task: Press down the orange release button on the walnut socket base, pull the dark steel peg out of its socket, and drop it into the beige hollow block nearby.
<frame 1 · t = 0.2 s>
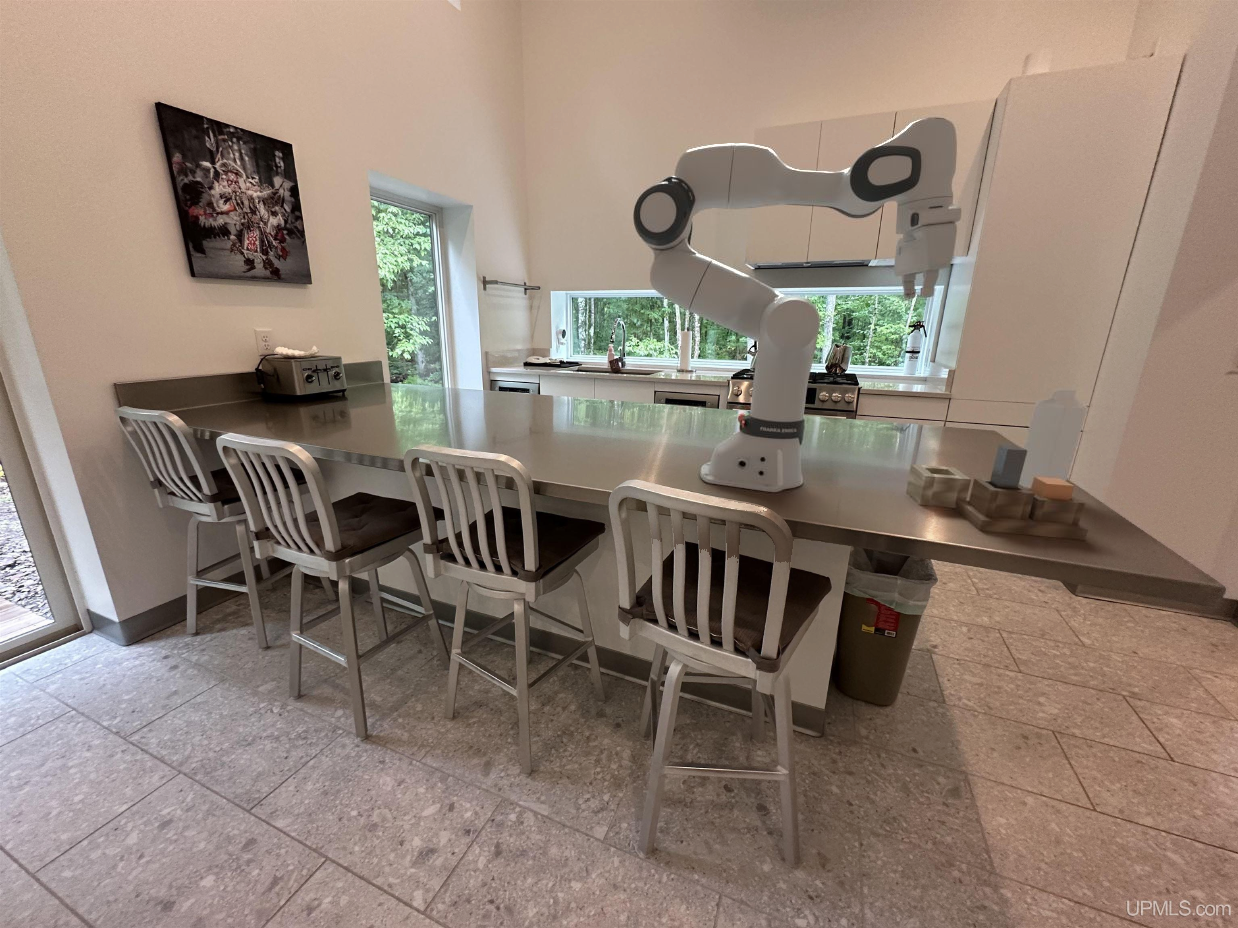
hand: (917, 298, 97), 39 cm above the counter, tool pointing down, fingers open, 8 cm apart
steel peg: (996, 511, 91), point 2 cm above the counter, touching socket base
milk: (1036, 492, 108), on the counter
beige hollow block: (933, 499, 102), on the counter
socket base: (1015, 523, 91), on the counter
release button: (1050, 491, 88), point 7 cm above the counter, slide at 0.0 cm
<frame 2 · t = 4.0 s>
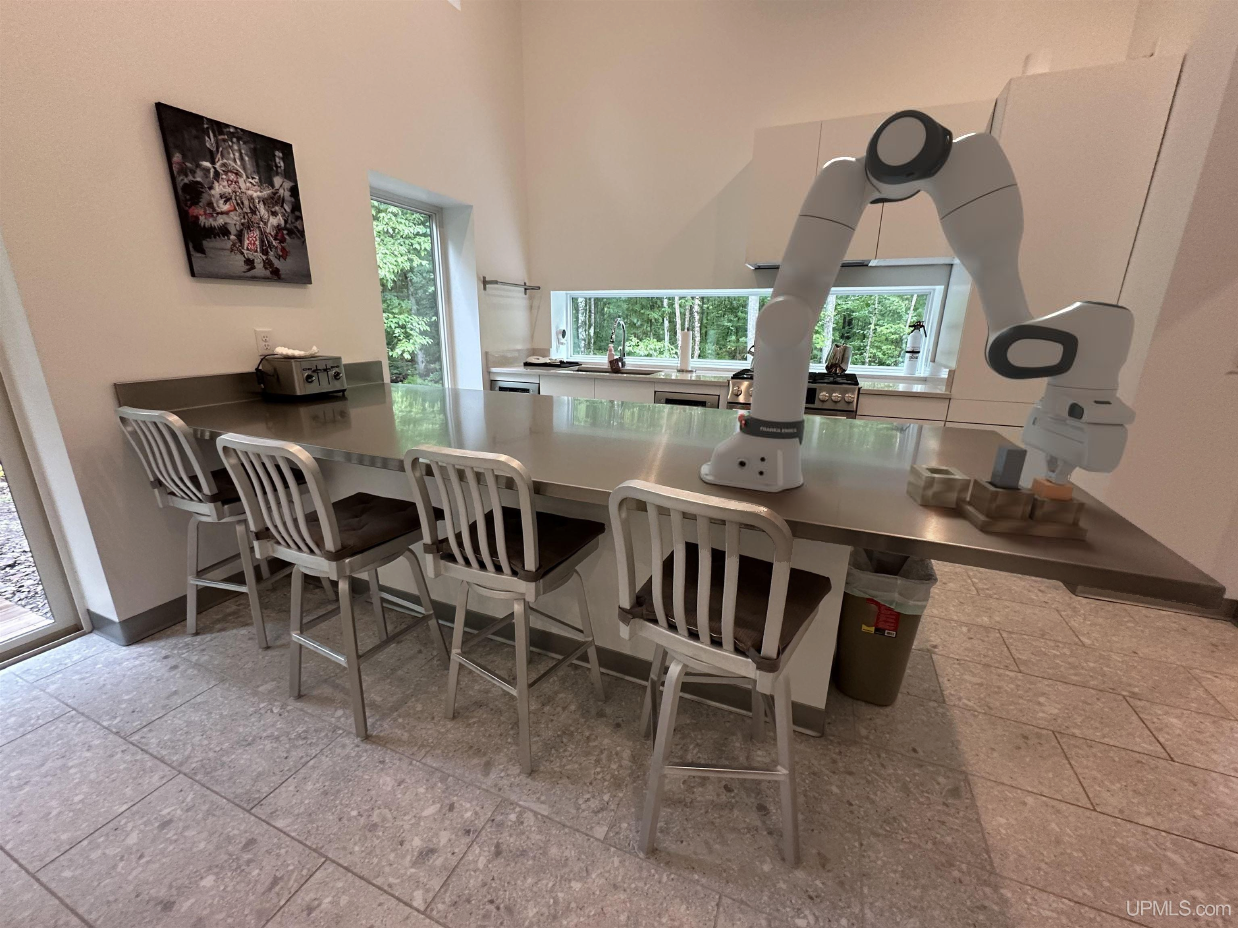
hand: (1054, 482, 88), 8 cm above the counter, tool pointing down, fingers closed, pressing on release button
release button: (1050, 493, 88), point 6 cm above the counter, slide at 0.2 cm, touching gripper
everything else where it was.
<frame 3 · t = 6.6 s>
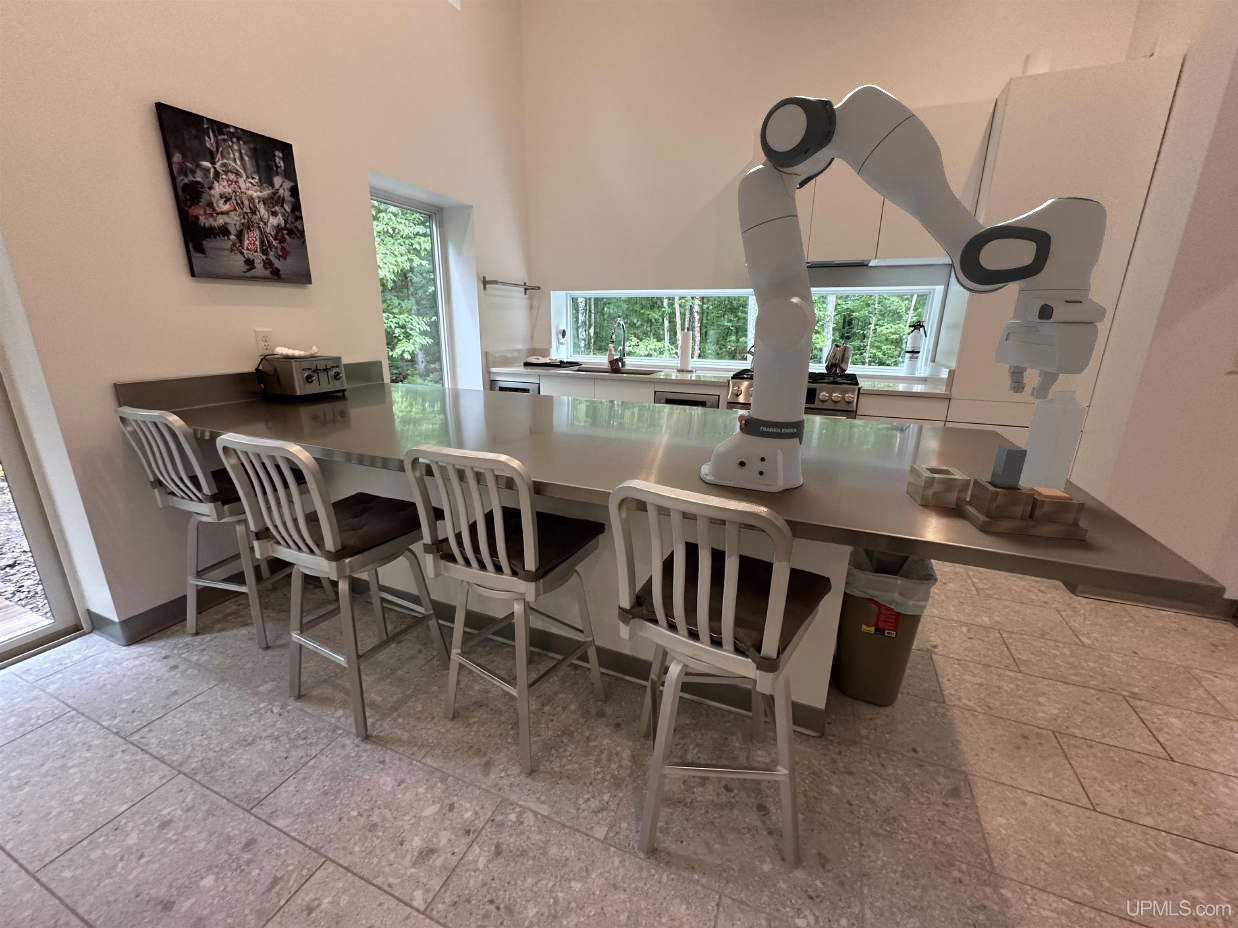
hand: (1026, 395, 85), 23 cm above the counter, tool pointing down, fingers open, 5 cm apart
release button: (1047, 502, 89), point 5 cm above the counter, slide at 2.0 cm
everything else where it was.
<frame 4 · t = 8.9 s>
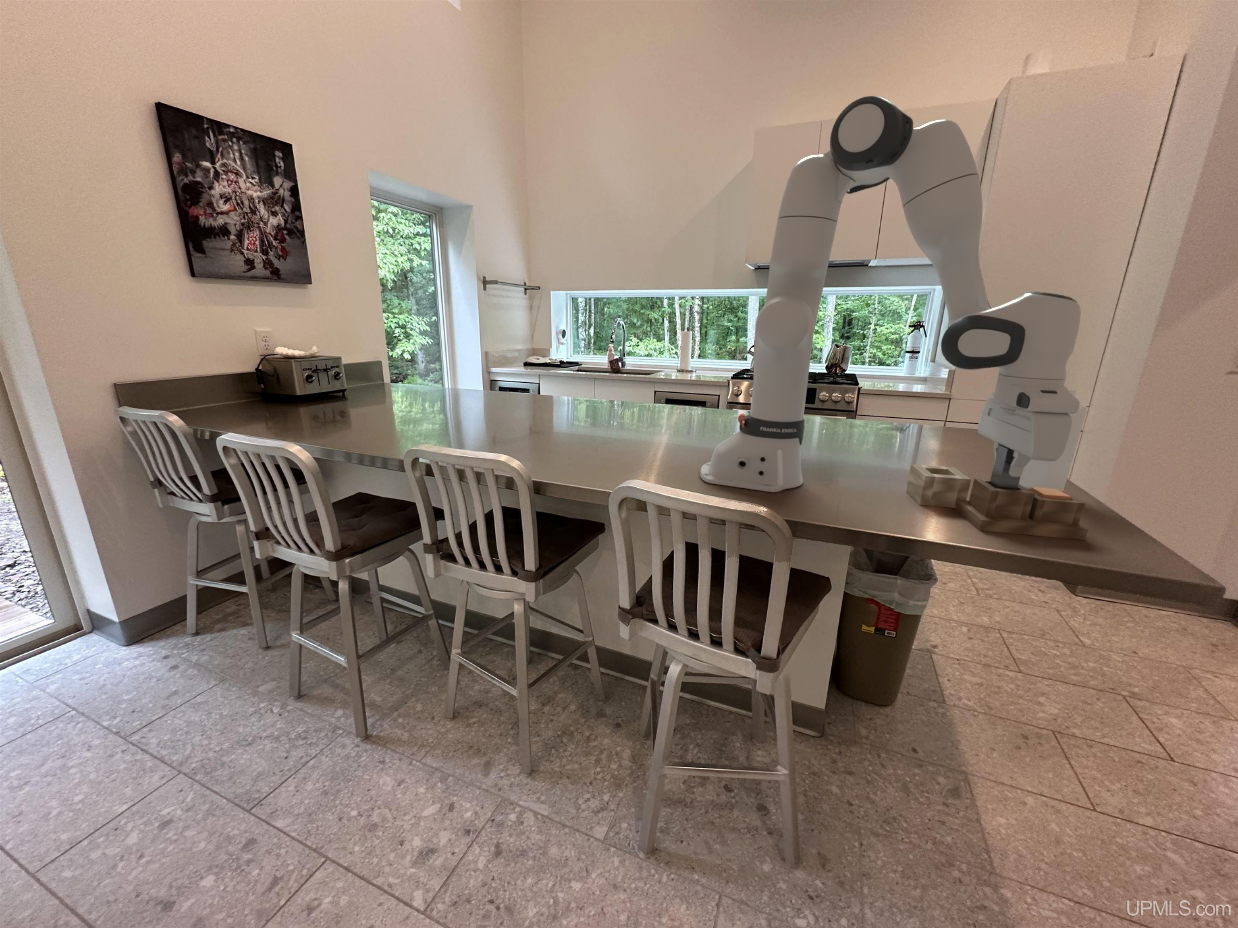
hand: (1006, 471, 89), 10 cm above the counter, tool pointing down, fingers closed on steel peg, 3 cm apart
steel peg: (996, 511, 91), point 2 cm above the counter, touching gripper, socket base
everything else where it was.
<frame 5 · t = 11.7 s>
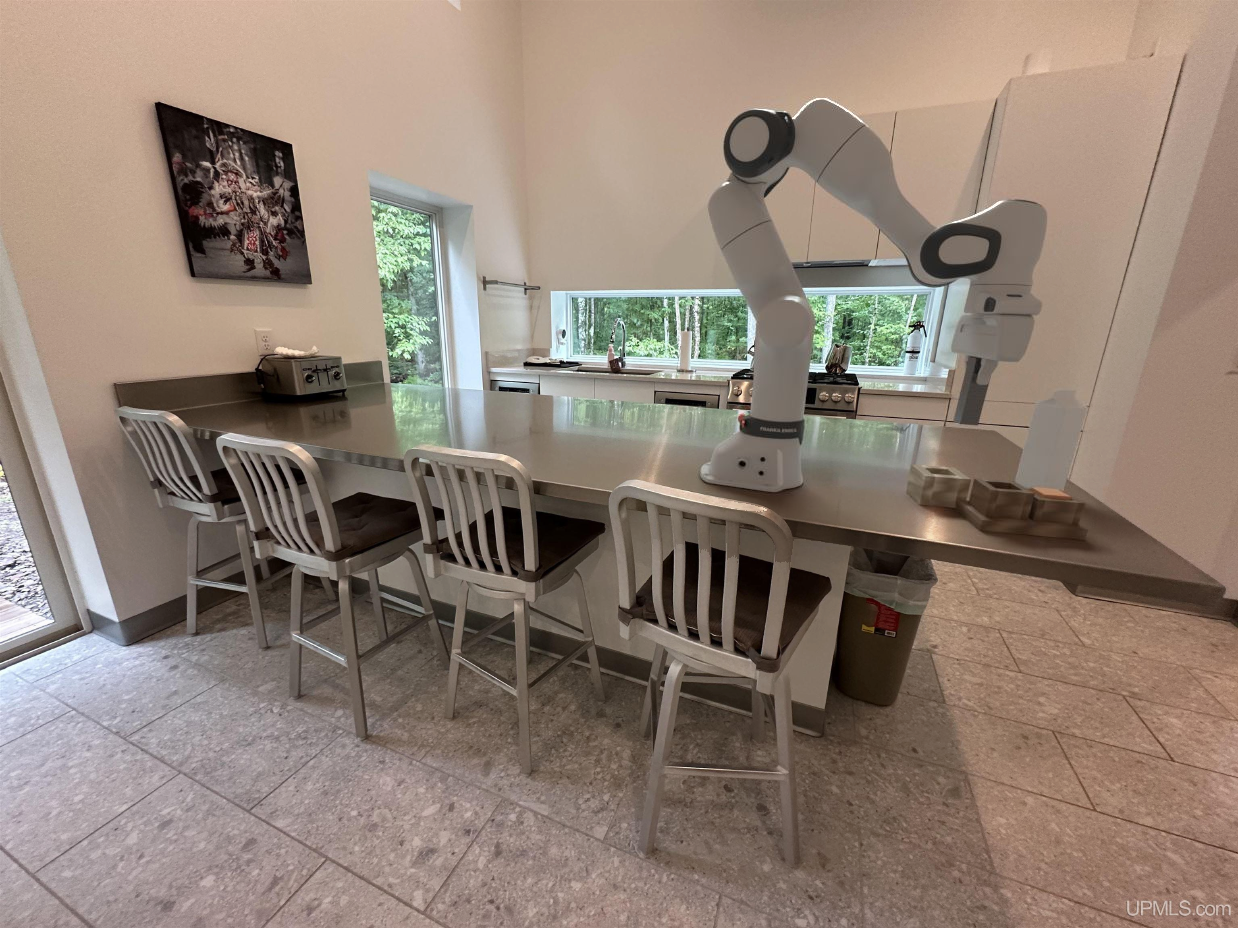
hand: (975, 382, 92), 24 cm above the counter, tool pointing down, fingers closed on steel peg, 3 cm apart
steel peg: (965, 423, 94), point 17 cm above the counter, touching gripper
everything else where it was.
when the fingers open (9 cm above the counter, at t = 14.6 s): steel peg drops 2 cm, resting in beige hollow block.
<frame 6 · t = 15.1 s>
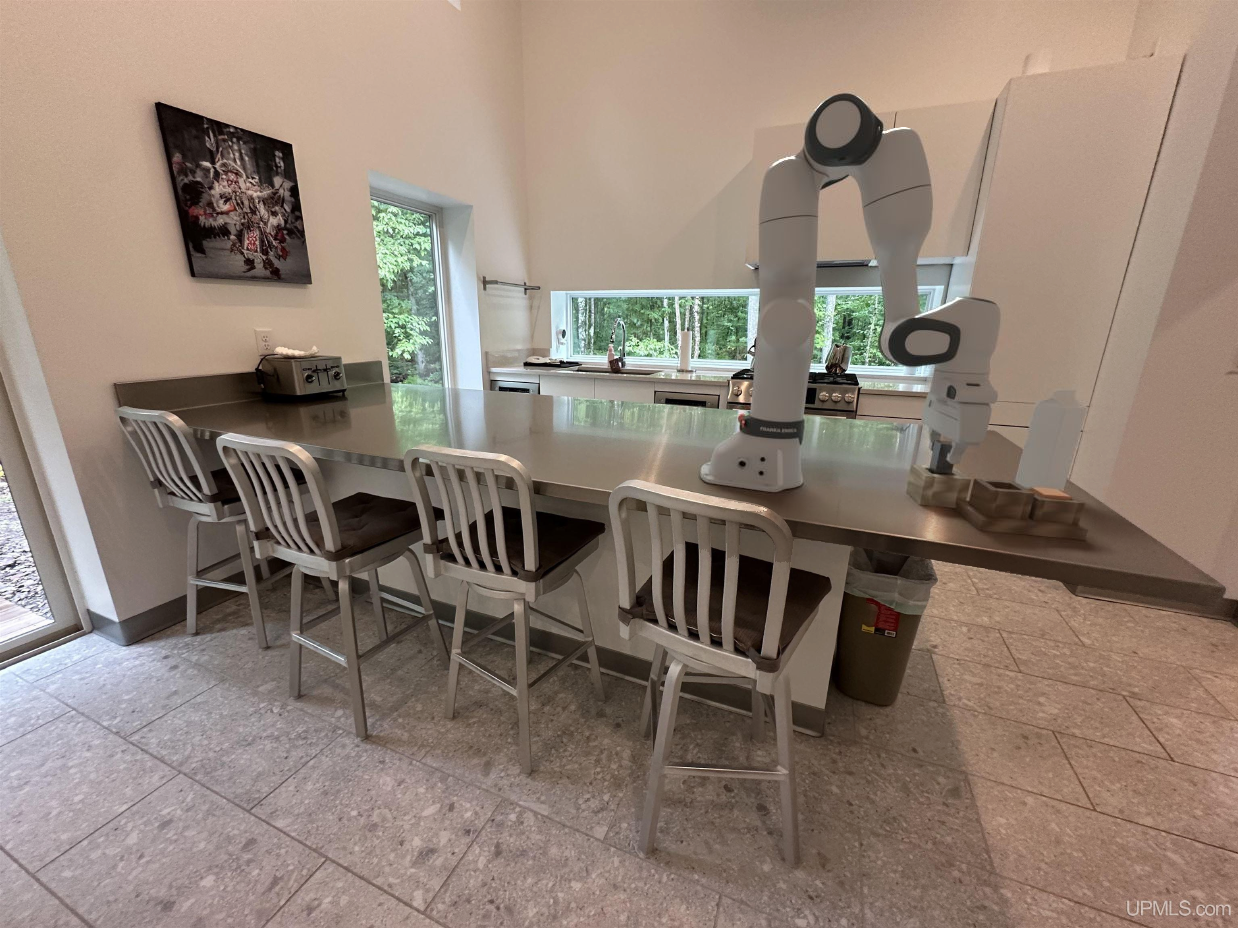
hand: (942, 456, 99), 9 cm above the counter, tool pointing down, fingers open, 8 cm apart
steel peg: (934, 499, 102), resting in beige hollow block
everything else where it was.
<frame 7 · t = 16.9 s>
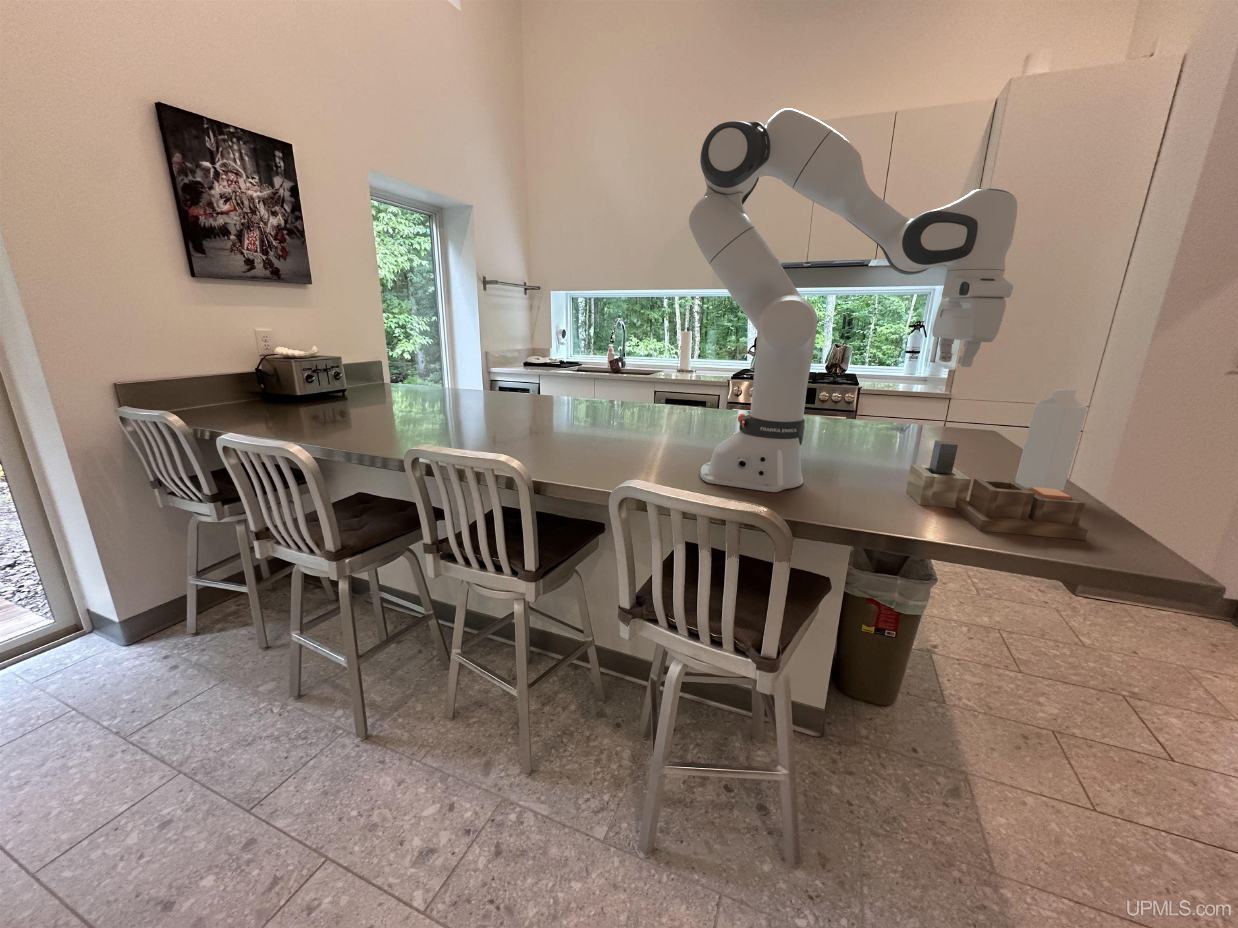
hand: (953, 364, 97), 27 cm above the counter, tool pointing down, fingers open, 8 cm apart
nothing on the counter moved.
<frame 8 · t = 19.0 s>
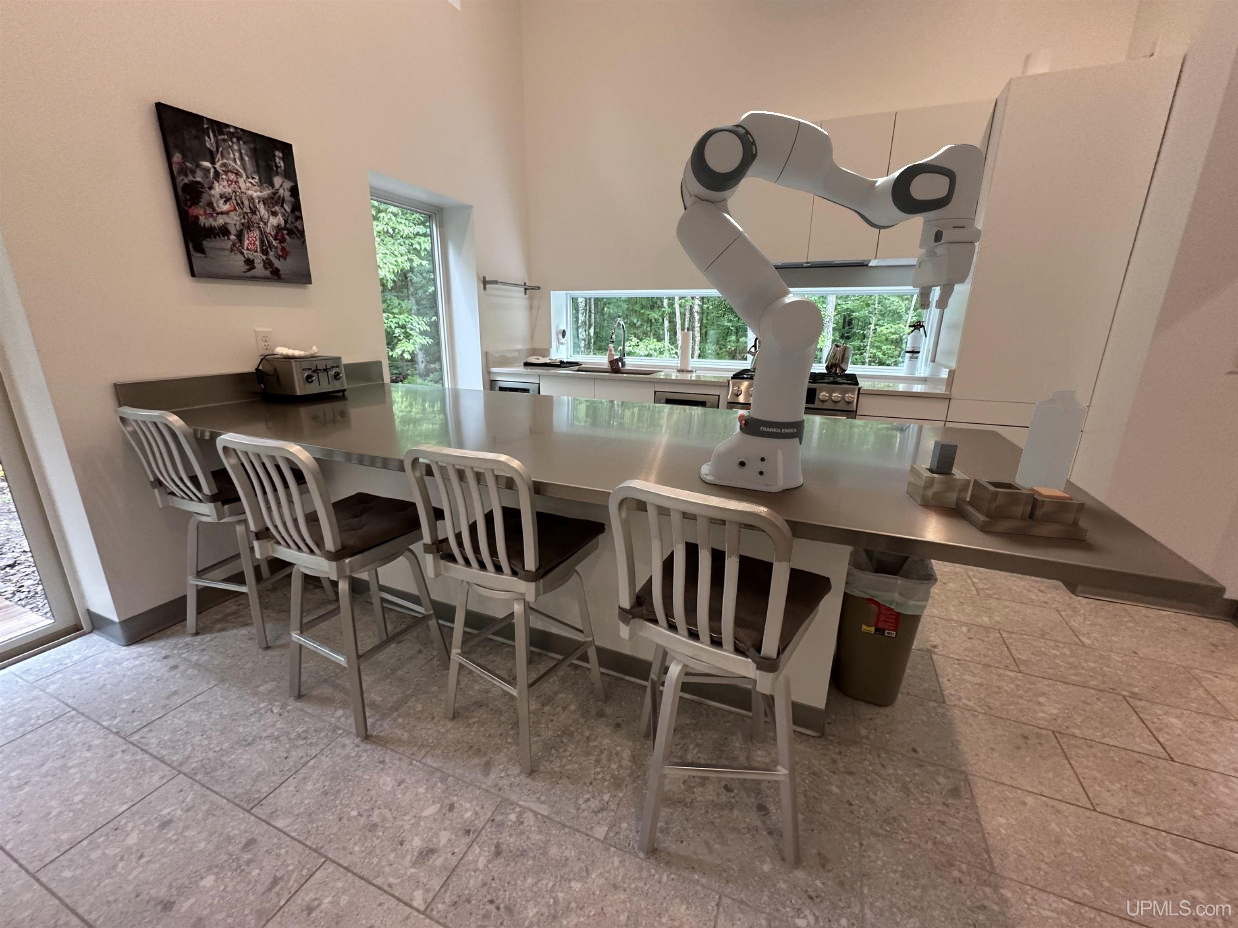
hand: (931, 309, 106), 37 cm above the counter, tool pointing down, fingers open, 8 cm apart
nothing on the counter moved.
at the end: release button slide at 2.0 cm; steel peg 0.0 cm off-centre on the beige hollow block, point 0.0 cm above the beige hollow block's base; steel peg tilted 0° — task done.
